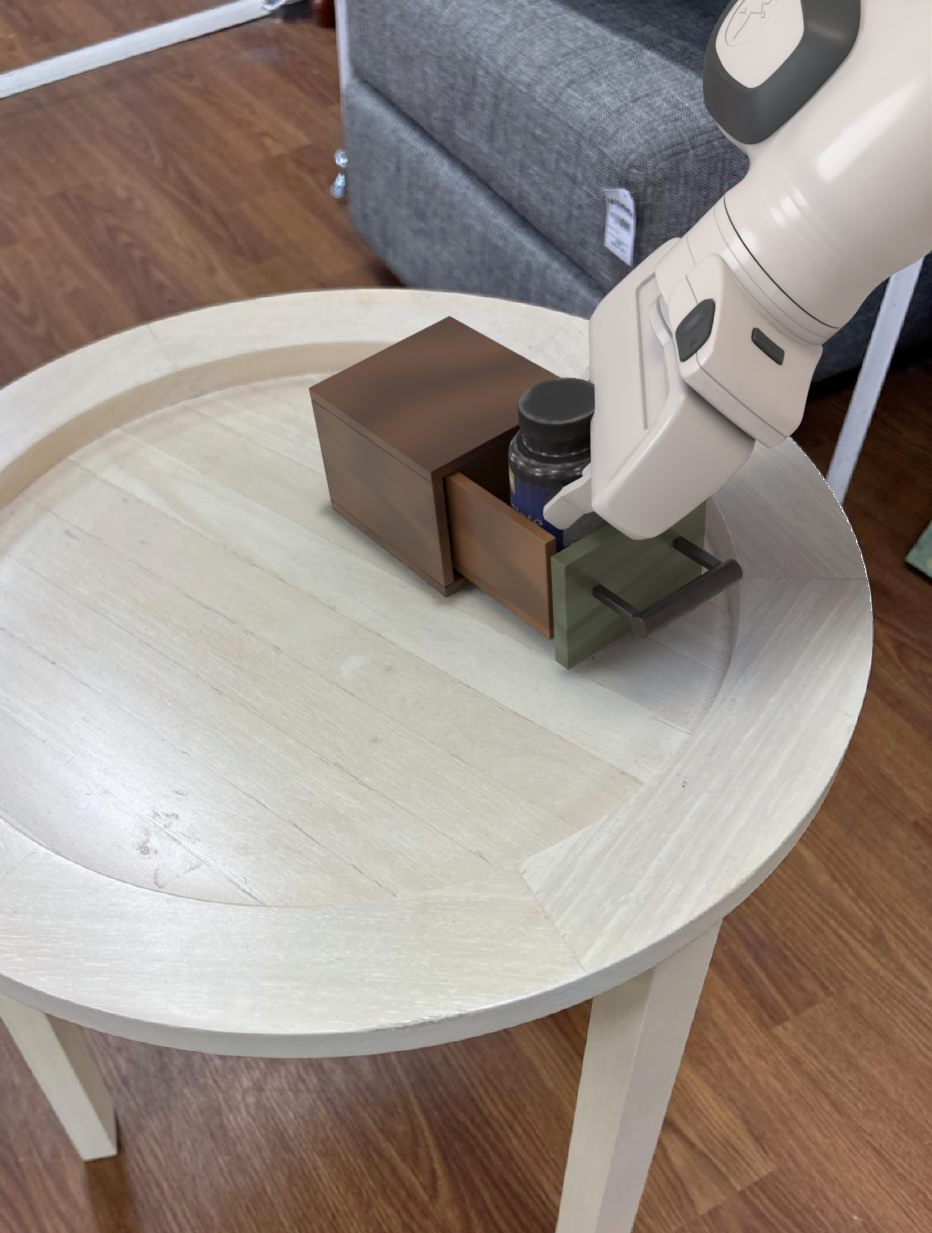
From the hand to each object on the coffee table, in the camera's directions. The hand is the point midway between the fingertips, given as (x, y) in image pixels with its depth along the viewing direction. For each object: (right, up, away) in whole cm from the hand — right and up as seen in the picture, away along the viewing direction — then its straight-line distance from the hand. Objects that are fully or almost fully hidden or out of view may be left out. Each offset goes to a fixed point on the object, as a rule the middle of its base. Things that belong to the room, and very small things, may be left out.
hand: (552, 478), depth 76 cm
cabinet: (-4, +1, +14) cm, 15 cm away
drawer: (+3, -6, +4) cm, 8 cm away
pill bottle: (+2, -4, +4) cm, 6 cm away
